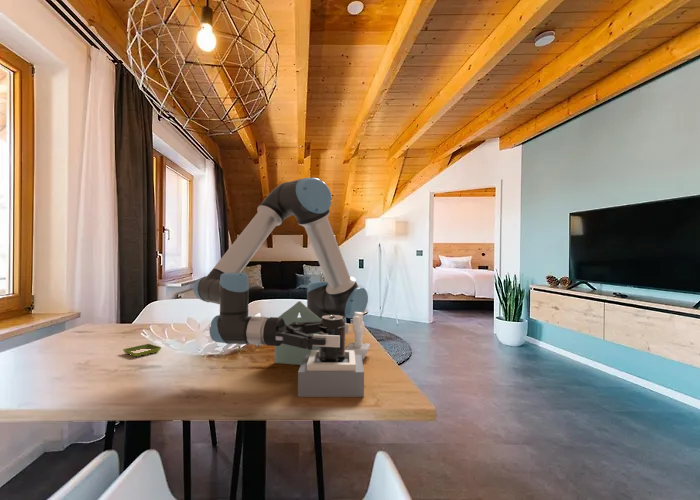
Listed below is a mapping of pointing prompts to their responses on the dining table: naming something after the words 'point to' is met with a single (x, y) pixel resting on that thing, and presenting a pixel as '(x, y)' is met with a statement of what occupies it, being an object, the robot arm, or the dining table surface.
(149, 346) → the green shallow square tray
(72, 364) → the dining table surface
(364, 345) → the figurine
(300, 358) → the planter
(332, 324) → the beverage can
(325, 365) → the stand
